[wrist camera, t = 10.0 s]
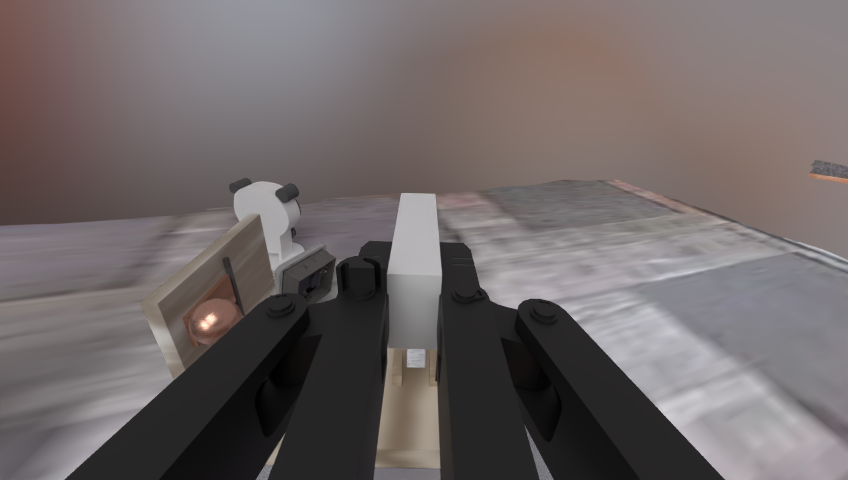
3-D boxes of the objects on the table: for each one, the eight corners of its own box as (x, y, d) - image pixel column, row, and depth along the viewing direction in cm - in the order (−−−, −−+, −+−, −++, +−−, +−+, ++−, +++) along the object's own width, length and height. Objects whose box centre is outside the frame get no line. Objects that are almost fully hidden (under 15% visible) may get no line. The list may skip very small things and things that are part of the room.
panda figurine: (318, 247, 70) (308, 177, 63) (286, 276, 60) (271, 197, 53) (267, 240, 72) (253, 172, 66) (229, 266, 63) (207, 189, 56)
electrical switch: (316, 283, 59) (314, 237, 54) (340, 294, 57) (339, 247, 52) (273, 313, 51) (265, 263, 47) (298, 327, 49) (293, 276, 45)
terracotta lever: (268, 384, 36) (169, 336, 21) (276, 353, 37) (189, 290, 23) (299, 385, 36) (220, 338, 21) (305, 354, 37) (236, 291, 23)
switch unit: (207, 463, 32) (134, 303, 23) (275, 341, 46) (245, 213, 37) (449, 468, 32) (466, 311, 23) (441, 345, 46) (451, 219, 37)
